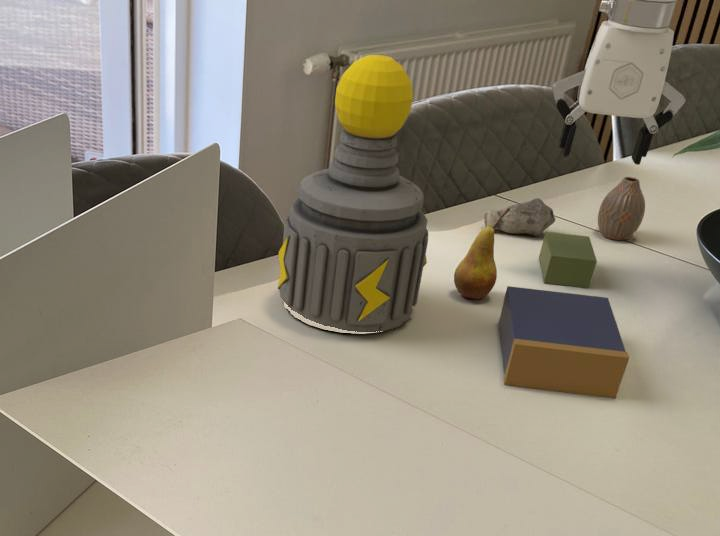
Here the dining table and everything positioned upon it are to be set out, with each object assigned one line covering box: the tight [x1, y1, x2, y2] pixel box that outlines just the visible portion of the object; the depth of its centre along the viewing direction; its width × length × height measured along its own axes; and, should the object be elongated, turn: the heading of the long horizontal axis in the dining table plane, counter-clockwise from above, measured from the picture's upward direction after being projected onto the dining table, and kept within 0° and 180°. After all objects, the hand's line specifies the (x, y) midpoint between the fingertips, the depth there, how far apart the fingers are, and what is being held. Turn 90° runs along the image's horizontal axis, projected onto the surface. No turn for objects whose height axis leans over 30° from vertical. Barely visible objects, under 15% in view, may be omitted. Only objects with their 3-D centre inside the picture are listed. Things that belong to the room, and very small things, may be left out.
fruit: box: [453, 208, 510, 300], centre depth 135 cm, size 6×6×12 cm
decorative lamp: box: [277, 54, 429, 332], centre depth 124 cm, size 19×19×30 cm
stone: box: [483, 197, 556, 237], centre depth 158 cm, size 10×5×8 cm
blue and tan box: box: [498, 285, 630, 399], centre depth 124 cm, size 13×18×5 cm
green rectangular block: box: [538, 231, 598, 289], centre depth 147 cm, size 7×10×4 cm, turn 171°
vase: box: [597, 176, 646, 241], centre depth 158 cm, size 7×7×9 cm
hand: (599, 157), depth 137 cm, fingers open, 9 cm apart
